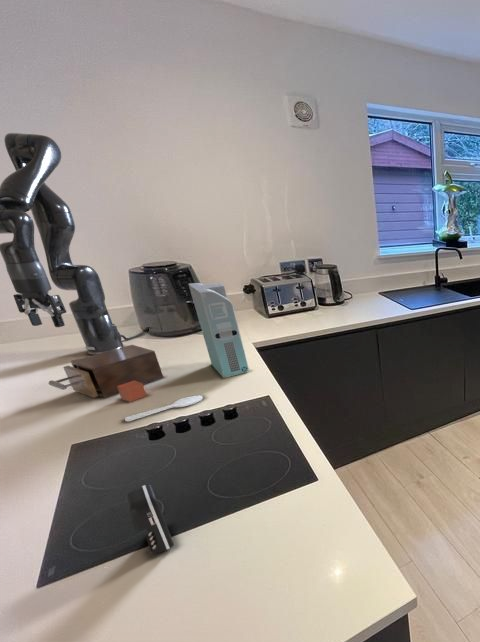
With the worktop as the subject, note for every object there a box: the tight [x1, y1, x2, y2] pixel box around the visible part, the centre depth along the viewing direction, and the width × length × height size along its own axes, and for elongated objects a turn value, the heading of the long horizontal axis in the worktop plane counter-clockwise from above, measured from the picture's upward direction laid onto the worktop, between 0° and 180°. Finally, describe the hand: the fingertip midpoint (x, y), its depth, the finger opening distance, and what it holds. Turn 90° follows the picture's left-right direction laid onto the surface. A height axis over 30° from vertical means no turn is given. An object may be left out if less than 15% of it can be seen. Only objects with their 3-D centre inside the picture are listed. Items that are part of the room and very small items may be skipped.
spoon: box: [124, 394, 204, 422], centre depth 116 cm, size 5×18×1 cm, turn 141°
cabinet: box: [70, 344, 164, 398], centre depth 129 cm, size 16×13×10 cm
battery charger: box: [124, 483, 175, 555], centre depth 71 cm, size 7×4×11 cm, turn 48°
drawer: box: [48, 365, 101, 399], centre depth 124 cm, size 20×12×8 cm, turn 157°
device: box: [188, 282, 250, 379], centre depth 138 cm, size 16×8×30 cm, turn 47°
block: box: [117, 381, 148, 403], centre depth 121 cm, size 4×4×4 cm
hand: (48, 325), depth 130 cm, fingers open, 8 cm apart
